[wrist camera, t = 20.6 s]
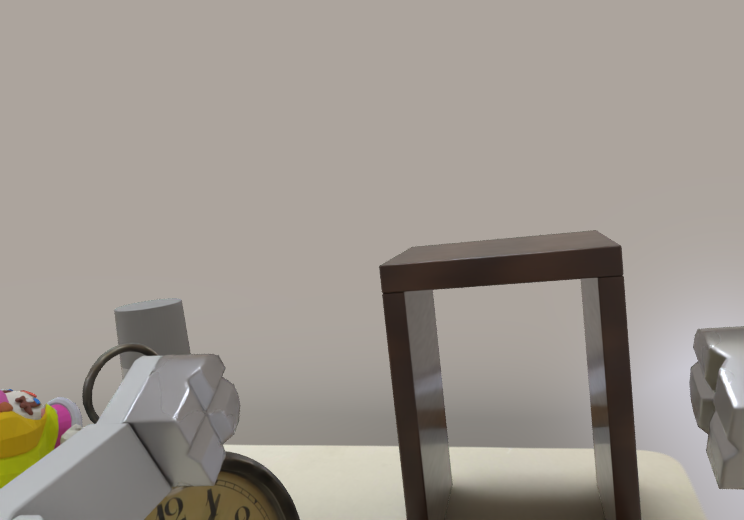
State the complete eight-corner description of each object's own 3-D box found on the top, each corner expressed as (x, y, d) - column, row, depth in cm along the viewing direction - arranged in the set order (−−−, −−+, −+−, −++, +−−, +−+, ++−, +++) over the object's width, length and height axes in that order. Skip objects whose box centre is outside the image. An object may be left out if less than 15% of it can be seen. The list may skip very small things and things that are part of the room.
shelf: (412, 570, 34) (378, 265, 33) (435, 485, 44) (410, 246, 42) (645, 578, 31) (621, 244, 30) (616, 486, 41) (596, 230, 39)
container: (195, 489, 48) (168, 296, 46) (223, 508, 44) (194, 299, 43) (134, 513, 45) (103, 308, 43) (158, 536, 41) (125, 313, 40)
